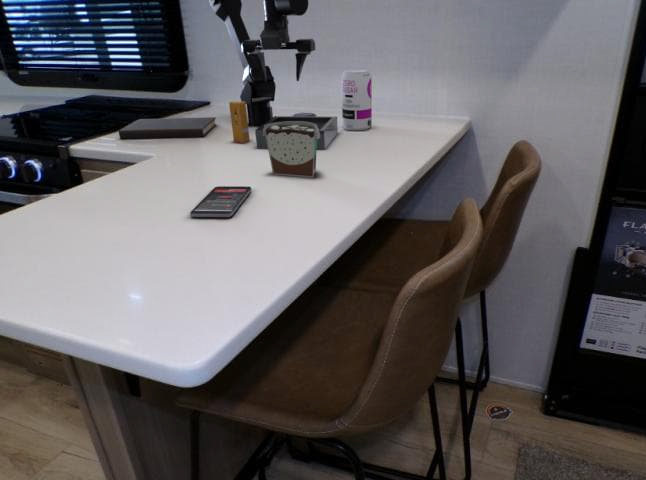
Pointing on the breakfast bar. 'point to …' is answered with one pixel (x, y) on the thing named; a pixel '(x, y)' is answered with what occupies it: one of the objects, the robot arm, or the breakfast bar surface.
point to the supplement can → (356, 99)
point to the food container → (292, 147)
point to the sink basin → (323, 123)
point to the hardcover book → (168, 128)
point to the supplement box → (239, 121)
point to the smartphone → (221, 202)
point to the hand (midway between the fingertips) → (281, 81)
